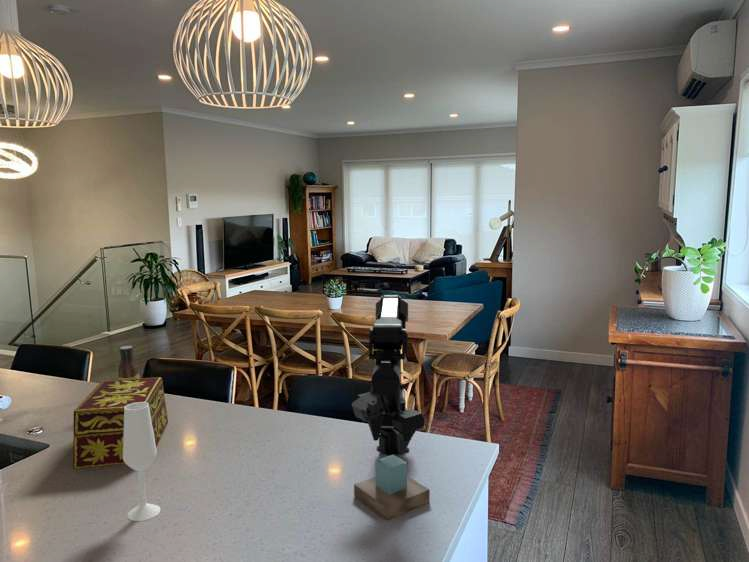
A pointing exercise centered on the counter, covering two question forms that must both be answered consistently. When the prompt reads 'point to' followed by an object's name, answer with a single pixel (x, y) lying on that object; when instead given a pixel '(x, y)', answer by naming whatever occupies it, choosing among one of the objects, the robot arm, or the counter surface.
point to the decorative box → (113, 419)
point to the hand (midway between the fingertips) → (388, 447)
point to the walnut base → (391, 497)
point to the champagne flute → (139, 453)
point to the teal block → (391, 474)
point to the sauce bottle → (127, 364)
